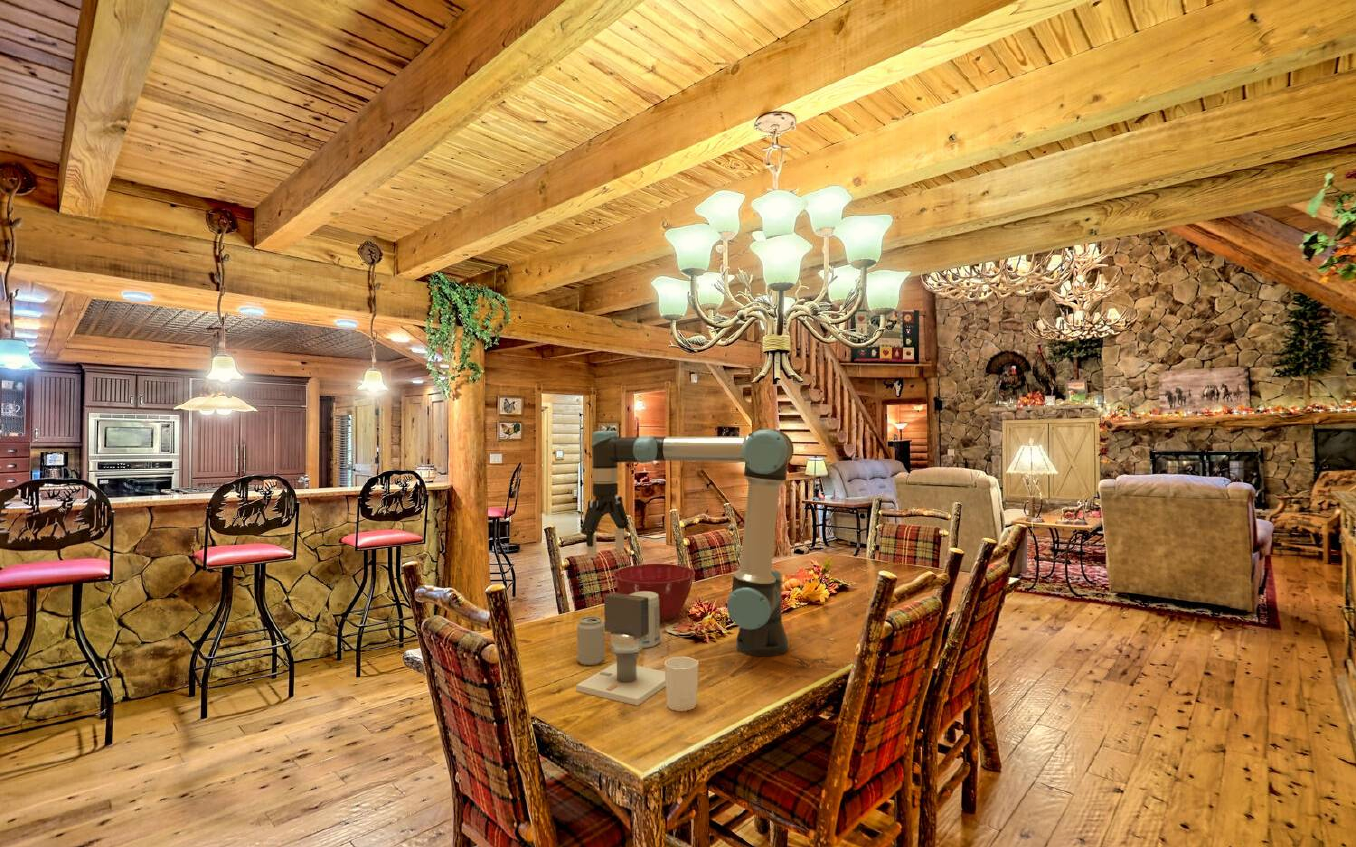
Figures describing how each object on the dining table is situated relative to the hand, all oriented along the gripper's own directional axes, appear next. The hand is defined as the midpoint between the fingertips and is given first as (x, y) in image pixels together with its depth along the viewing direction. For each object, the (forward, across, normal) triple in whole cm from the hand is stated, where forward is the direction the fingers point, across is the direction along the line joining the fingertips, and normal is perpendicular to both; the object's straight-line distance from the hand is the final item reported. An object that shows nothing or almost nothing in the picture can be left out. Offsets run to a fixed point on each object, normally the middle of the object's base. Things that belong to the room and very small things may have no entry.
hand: (606, 553), depth 189 cm
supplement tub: (+28, -8, +8) cm, 30 cm away
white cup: (+28, +24, +40) cm, 54 cm away
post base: (+28, +20, +21) cm, 41 cm away
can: (+28, +12, +3) cm, 31 cm away
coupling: (+19, +20, +21) cm, 35 cm away
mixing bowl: (+28, -34, -5) cm, 44 cm away
